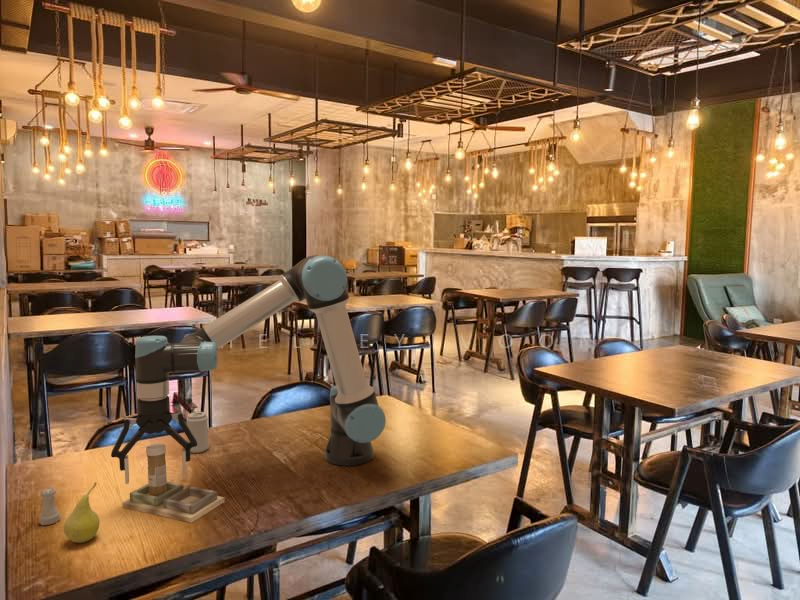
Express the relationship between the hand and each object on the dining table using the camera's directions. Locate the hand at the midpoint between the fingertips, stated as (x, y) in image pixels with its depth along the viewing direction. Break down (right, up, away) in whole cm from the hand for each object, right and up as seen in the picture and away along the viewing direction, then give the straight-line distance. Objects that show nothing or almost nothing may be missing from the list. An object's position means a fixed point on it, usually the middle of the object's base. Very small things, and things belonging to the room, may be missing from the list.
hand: (156, 477), depth 145 cm
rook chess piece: (-21, -7, -11) cm, 25 cm away
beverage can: (-2, -3, +37) cm, 37 cm away
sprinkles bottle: (0, -5, +1) cm, 5 cm away
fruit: (-8, -8, -19) cm, 22 cm away
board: (+5, -6, -1) cm, 8 cm away
